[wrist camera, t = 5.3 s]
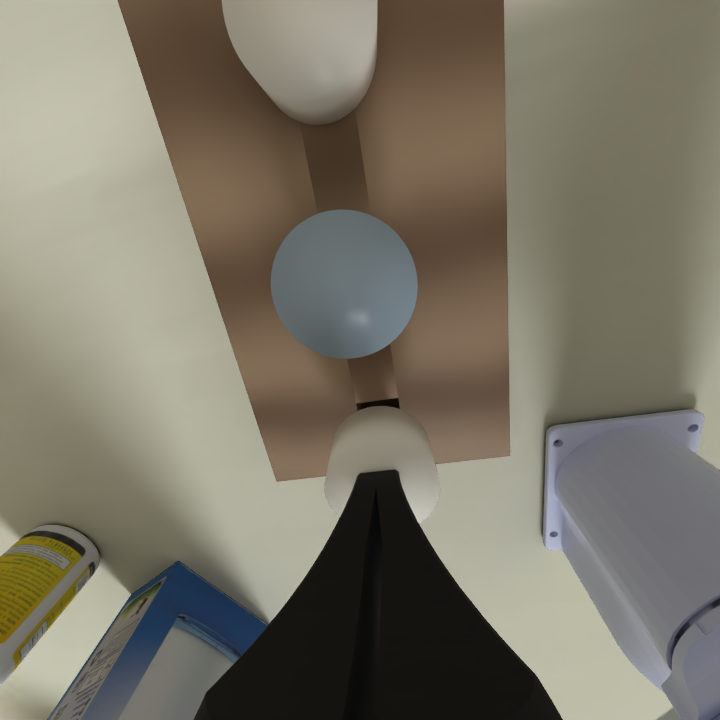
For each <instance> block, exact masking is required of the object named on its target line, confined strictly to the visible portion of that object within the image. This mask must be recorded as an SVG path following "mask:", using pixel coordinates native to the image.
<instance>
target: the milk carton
mask: <svg viewBox="0 0 720 720" xmlns="http://www.w3.org/2000/svg"><path fill="white" fill-rule="evenodd" d="M267 626H268V624H267V623H265V622H264V621H262V620H261V619H260V618H258V617H257V616H255V615H254V614H253V613H251V612H250V611H248V610H247V609H245V608H244V607H243V606H241V605H240V604H238V603H237V602H236V601H234V600H233V599H231V598H230V597H228V596H227V595H226V594H224V593H223V592H221V591H220V590H219V589H217V588H216V587H214V586H213V585H212V584H210V583H209V582H207V581H206V580H204V579H203V578H202V577H200V576H199V575H197V574H196V573H195V572H193V571H192V570H190V569H189V568H187V567H186V566H185V565H183V564H182V563H180V562H179V561H178V562H176V563H175V564H174V565H172V566H171V567H169V568H168V569H167V570H165V571H164V572H162V573H161V574H160V575H158V576H157V577H155V578H154V579H153V580H151V581H150V582H149V583H147V584H146V585H144V586H143V587H142V588H140V589H139V590H137V591H136V592H135V593H133V594H132V595H131V596H130V597H129V599H128V600H127V602H126V603H125V605H124V606H123V608H122V609H121V611H120V612H119V614H118V615H117V616H116V618H115V619H114V621H113V622H112V624H111V625H110V627H109V628H108V630H107V631H106V633H105V634H104V636H103V637H102V639H101V640H100V642H99V643H98V645H97V646H96V648H95V649H94V651H93V652H92V654H91V655H90V657H89V658H88V660H87V661H86V663H85V664H84V666H83V667H82V669H81V670H80V672H79V673H78V675H77V676H76V678H75V679H74V681H73V682H72V684H71V685H70V686H69V688H68V689H67V691H66V692H65V694H64V695H63V697H62V698H61V700H60V701H59V703H58V704H57V706H56V707H55V709H54V710H53V712H52V713H51V715H50V716H49V718H48V719H47V720H194V717H195V715H196V713H197V711H198V709H199V707H200V705H201V703H202V700H203V698H204V696H205V693H206V692H207V691H208V690H209V689H210V688H211V687H212V686H213V685H214V684H215V683H216V682H217V681H218V680H219V679H220V678H221V676H222V675H223V674H224V673H225V672H226V671H227V670H228V669H229V668H230V667H231V666H232V665H233V664H234V663H235V662H236V661H237V660H238V659H239V658H240V657H241V656H242V655H243V654H244V653H245V651H246V650H247V649H248V648H249V647H250V646H251V645H252V644H253V643H254V641H255V640H256V639H257V638H258V637H259V635H260V634H261V633H262V632H263V631H264V630H265V628H266V627H267Z"/></svg>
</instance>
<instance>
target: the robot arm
mask: <svg viewBox="0 0 720 720" xmlns="http://www.w3.org/2000/svg"><path fill="white" fill-rule="evenodd" d="M703 422H704V415H703V414H702V413H701V412H699V411H697V410H695V409H688V410H679V411H671V412H662V413H654V414H645V415H637V416H628V417H620V418H611V419H603V420H594V421H586V422H577V423H569V424H561V425H554V426H551V427H550V428H549V429H548V430H547V433H546V456H545V487H544V519H543V544H544V546H545V548H546V549H548V550H551V551H554V550H563V552H564V553H565V555H566V557H567V559H568V560H569V562H570V564H571V565H572V567H573V569H574V571H575V572H576V574H577V576H578V577H579V579H580V581H581V583H582V584H583V586H584V588H585V589H586V591H587V593H588V595H589V596H590V598H591V600H592V601H593V603H594V605H595V607H596V608H597V610H598V612H599V613H600V615H601V617H602V619H603V620H604V622H605V624H606V625H607V627H608V629H609V631H610V632H611V634H612V636H613V637H614V639H615V641H616V643H617V644H618V646H619V647H620V649H621V650H622V652H623V653H624V654H625V656H626V657H627V658H628V660H629V661H630V662H631V663H632V664H633V665H634V666H635V667H636V668H637V670H638V671H639V672H641V673H642V674H643V675H644V676H645V677H646V678H647V679H648V680H649V681H650V682H652V683H653V684H654V685H655V686H656V687H658V688H659V689H660V690H661V691H663V692H664V693H665V694H666V696H667V697H668V699H669V701H670V702H671V704H672V705H673V707H674V709H675V710H676V712H677V713H678V715H679V717H680V718H681V720H720V470H719V469H717V468H716V467H714V466H713V465H712V464H710V463H709V462H707V461H706V460H704V459H703V458H702V457H700V456H699V455H697V454H696V452H697V448H698V443H699V439H700V435H701V430H702V426H703ZM689 426H690V427H689ZM688 427H689V428H688ZM556 440H559V441H558V442H557V443H554V442H555V441H556ZM194 720H563V719H562V718H561V716H560V714H559V712H558V711H557V709H556V707H555V705H554V704H553V702H552V700H551V699H550V697H549V695H548V694H547V692H546V690H545V689H544V687H543V685H542V684H541V682H540V680H539V679H538V677H537V676H536V675H535V673H534V672H533V671H532V670H531V669H530V668H529V667H528V666H527V665H526V664H525V663H524V662H523V661H522V660H521V659H520V658H519V657H518V655H517V654H516V653H515V652H514V651H513V650H512V649H511V648H510V647H509V646H508V645H507V643H506V642H505V641H504V640H503V639H502V638H501V637H500V636H499V634H498V633H497V632H496V631H495V630H494V629H493V627H492V626H491V625H490V624H489V623H488V622H487V621H486V619H485V618H484V617H483V616H482V615H481V613H480V612H479V611H478V609H477V608H476V607H475V606H474V604H473V603H472V602H471V601H470V599H469V598H468V597H467V596H466V594H465V593H464V592H463V591H462V589H461V588H460V587H459V585H458V584H457V583H456V581H455V580H454V578H453V577H452V576H451V574H450V573H449V571H448V570H447V569H446V567H445V566H444V564H443V563H442V561H441V560H440V558H439V557H438V555H437V554H436V552H435V550H434V549H433V547H432V546H431V544H430V542H429V541H428V539H427V537H426V535H425V534H424V532H423V530H422V529H421V527H420V525H419V523H418V521H417V519H416V517H415V515H414V513H413V511H412V509H411V507H410V505H409V503H408V500H407V498H406V495H405V493H404V490H403V488H402V485H401V481H400V476H399V472H398V471H397V470H396V469H393V470H384V471H375V472H366V473H359V475H358V476H357V478H356V481H355V484H354V487H353V489H352V492H351V494H350V496H349V499H348V501H347V503H346V506H345V508H344V510H343V512H342V514H341V516H340V518H339V520H338V522H337V524H336V526H335V528H334V530H333V532H332V534H331V535H330V537H329V539H328V541H327V543H326V544H325V546H324V548H323V550H322V551H321V553H320V555H319V556H318V558H317V560H316V561H315V563H314V564H313V566H312V567H311V569H310V570H309V572H308V574H307V575H306V577H305V578H304V579H303V581H302V582H301V584H300V585H299V586H298V588H297V589H296V591H295V592H294V593H293V595H292V596H291V597H290V599H289V600H288V601H287V603H286V604H285V605H284V607H283V608H282V609H281V610H280V612H279V613H278V614H277V615H276V617H275V618H274V619H273V620H272V621H271V622H270V624H269V625H268V626H267V627H266V628H265V630H264V631H263V632H262V633H261V634H260V635H259V637H258V638H257V639H256V640H255V641H254V643H253V644H252V645H251V646H250V647H249V648H248V649H247V650H246V651H245V653H244V654H243V655H242V656H241V657H240V658H239V659H238V660H237V661H236V662H235V663H234V664H233V665H232V666H231V667H230V668H229V669H228V670H227V671H226V672H225V673H224V674H223V675H222V676H221V678H220V679H219V680H218V681H217V682H216V683H215V684H214V685H213V686H212V687H211V688H210V689H209V690H208V691H207V692H206V693H205V696H204V698H203V700H202V703H201V705H200V707H199V709H198V711H197V713H196V715H195V717H194Z"/></svg>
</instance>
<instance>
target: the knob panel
mask: <svg viewBox="0 0 720 720" xmlns="http://www.w3.org/2000/svg"><path fill="white" fill-rule="evenodd" d="M118 3H119V6H120V9H121V12H122V15H123V18H124V21H125V24H126V27H127V30H128V33H129V36H130V39H131V42H132V45H133V48H134V51H135V54H136V57H137V60H138V64H139V67H140V70H141V73H142V76H143V79H144V82H145V85H146V88H147V91H148V94H149V97H150V100H151V103H152V106H153V109H154V112H155V115H156V118H157V121H158V124H159V127H160V130H161V133H162V136H163V139H164V142H165V145H166V148H167V151H168V154H169V157H170V160H171V163H172V166H173V169H174V172H175V175H176V178H177V182H178V185H179V188H180V191H181V194H182V197H183V200H184V203H185V206H186V209H187V212H188V215H189V218H190V221H191V224H192V227H193V230H194V233H195V236H196V239H197V242H198V245H199V248H200V251H201V254H202V257H203V260H204V263H205V266H206V269H207V272H208V275H209V278H210V281H211V284H212V287H213V290H214V293H215V297H216V300H217V303H218V306H219V309H220V312H221V315H222V318H223V321H224V324H225V327H226V330H227V333H228V336H229V339H230V342H231V345H232V348H233V351H234V354H235V357H236V360H237V363H238V366H239V369H240V372H241V375H242V378H243V381H244V384H245V387H246V390H247V393H248V396H249V399H250V402H251V405H252V408H253V412H254V415H255V418H256V421H257V424H258V427H259V430H260V433H261V436H262V439H263V442H264V445H265V448H266V451H267V454H268V457H269V460H270V463H271V466H272V469H273V472H274V475H275V478H276V481H277V482H278V481H287V480H296V479H305V478H314V477H323V476H326V474H327V469H328V464H329V459H330V454H331V449H332V444H333V439H334V436H335V433H336V431H337V429H338V427H339V426H340V424H341V423H342V422H343V421H344V420H345V419H346V418H347V417H348V416H350V415H351V414H353V413H354V412H356V411H359V410H361V409H364V408H365V405H364V402H371V401H378V400H386V399H393V398H398V399H399V404H395V405H387V406H388V407H394V408H398V409H401V410H403V411H405V412H407V413H409V414H411V415H412V416H413V417H415V418H416V419H417V420H418V421H419V422H420V423H421V424H422V426H423V427H424V429H425V430H426V432H427V435H428V438H429V442H430V446H431V450H432V454H433V458H434V461H435V464H441V463H450V462H459V461H468V460H477V459H486V458H495V457H504V456H510V416H509V345H508V275H507V204H506V133H505V63H504V0H377V59H376V66H375V71H374V75H373V78H372V81H371V84H370V86H369V88H368V90H367V92H366V94H365V96H364V97H363V99H362V100H361V102H360V103H359V104H358V105H357V107H356V108H355V109H354V110H353V111H351V112H350V113H349V114H348V115H346V116H345V117H343V118H342V119H340V120H338V121H336V122H333V123H329V124H324V125H310V124H305V123H302V122H299V121H297V120H295V119H293V118H291V117H289V116H288V115H286V114H285V113H284V112H283V111H281V110H280V109H279V108H278V107H277V106H276V105H275V103H274V102H273V101H272V100H271V99H270V97H269V96H268V95H267V94H266V92H265V91H264V90H263V89H262V87H261V86H260V85H259V84H258V82H257V81H256V80H255V79H254V77H253V76H252V75H251V74H250V72H249V71H248V70H247V69H246V67H245V66H244V64H243V63H242V61H241V60H240V58H239V56H238V55H237V53H236V51H235V49H234V47H233V45H232V42H231V40H230V37H229V34H228V31H227V28H226V24H225V20H224V15H223V9H222V0H118ZM331 210H353V211H359V212H363V213H366V214H369V215H371V216H373V217H375V218H377V219H379V220H381V221H382V222H384V223H385V224H387V225H388V226H389V227H390V228H392V229H393V230H394V231H395V232H396V233H397V234H398V235H399V237H400V238H401V239H402V240H403V242H404V243H405V245H406V246H407V248H408V250H409V252H410V254H411V256H412V258H413V261H414V264H415V268H416V273H417V282H418V291H417V299H416V304H415V308H414V310H413V313H412V316H411V318H410V320H409V322H408V324H407V325H406V327H405V328H404V330H403V331H402V332H401V333H400V335H399V336H398V337H397V338H396V339H395V340H394V341H392V342H391V343H390V344H389V345H387V346H386V347H384V348H383V349H381V350H379V351H377V352H375V353H373V354H370V355H367V356H363V357H359V358H350V359H342V358H333V357H328V356H325V355H322V354H319V353H317V352H314V351H312V350H311V349H309V348H307V347H305V346H304V345H303V344H301V343H300V342H299V341H297V340H296V339H295V338H294V337H293V336H292V335H291V334H290V332H289V331H288V330H287V329H286V328H285V326H284V324H283V323H282V321H281V320H280V318H279V316H278V314H277V311H276V309H275V306H274V303H273V298H272V293H271V272H272V266H273V262H274V259H275V256H276V253H277V251H278V249H279V247H280V245H281V244H282V242H283V241H284V239H285V238H286V236H287V235H288V234H289V233H290V232H291V231H292V230H293V229H294V228H295V227H296V226H298V225H299V224H300V223H301V222H303V221H305V220H306V219H308V218H309V217H312V216H314V215H316V214H319V213H322V212H326V211H331Z"/></svg>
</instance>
